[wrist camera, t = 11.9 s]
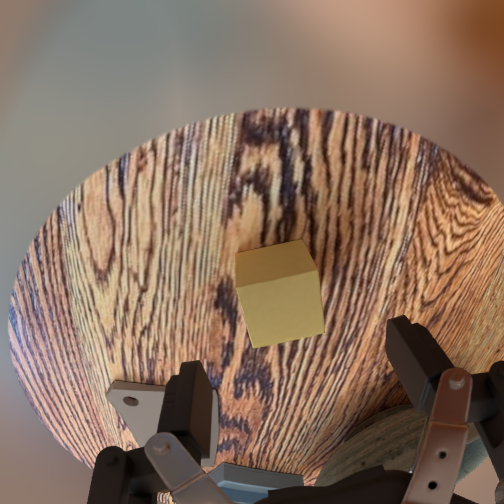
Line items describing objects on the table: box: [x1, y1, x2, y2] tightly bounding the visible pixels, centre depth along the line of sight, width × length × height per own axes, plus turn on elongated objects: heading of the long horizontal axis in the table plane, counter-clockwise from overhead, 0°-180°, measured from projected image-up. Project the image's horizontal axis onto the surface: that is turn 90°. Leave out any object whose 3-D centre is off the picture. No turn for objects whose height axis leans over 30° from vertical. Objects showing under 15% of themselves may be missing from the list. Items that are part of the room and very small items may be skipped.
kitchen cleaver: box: [106, 380, 219, 493], centre depth 27 cm, size 24×1×10 cm
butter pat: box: [235, 239, 325, 348], centre depth 17 cm, size 4×4×4 cm
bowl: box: [314, 404, 488, 486], centre depth 23 cm, size 21×21×10 cm
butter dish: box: [208, 462, 304, 504], centre depth 30 cm, size 11×7×2 cm, turn 59°
